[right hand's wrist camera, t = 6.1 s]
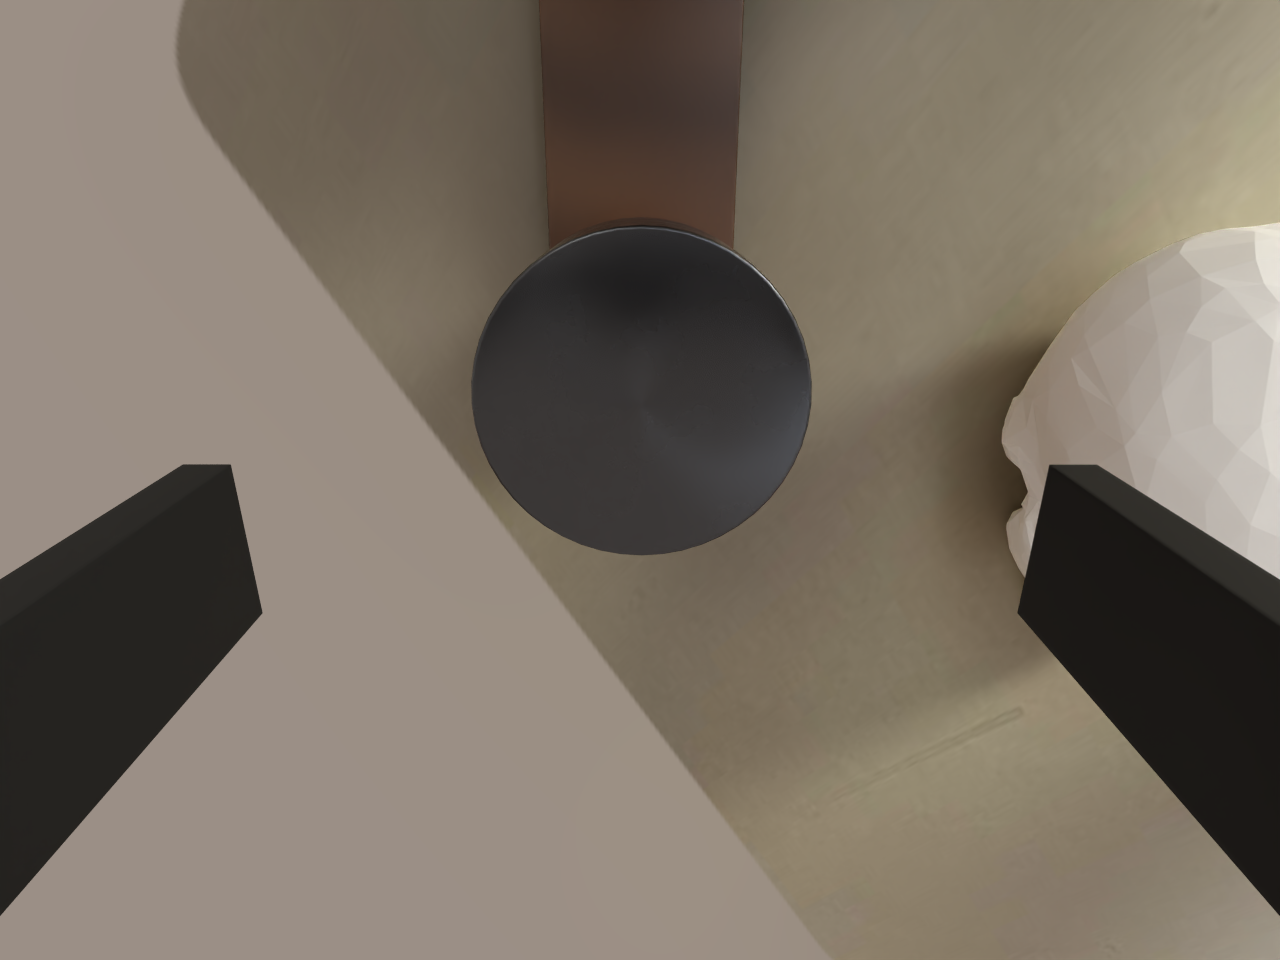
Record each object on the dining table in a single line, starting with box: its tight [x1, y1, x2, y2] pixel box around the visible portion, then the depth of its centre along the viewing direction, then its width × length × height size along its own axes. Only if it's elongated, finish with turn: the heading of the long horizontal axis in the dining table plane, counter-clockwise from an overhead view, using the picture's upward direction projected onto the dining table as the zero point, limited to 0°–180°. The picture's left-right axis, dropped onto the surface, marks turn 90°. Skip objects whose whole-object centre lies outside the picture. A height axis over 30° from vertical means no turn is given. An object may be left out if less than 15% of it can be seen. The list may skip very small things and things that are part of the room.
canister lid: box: [471, 217, 812, 555], centre depth 22 cm, size 9×9×4 cm
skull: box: [1002, 222, 1280, 579], centre depth 30 cm, size 13×22×16 cm, turn 10°
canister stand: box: [539, 0, 744, 249], centre depth 26 cm, size 26×8×12 cm, turn 0°
